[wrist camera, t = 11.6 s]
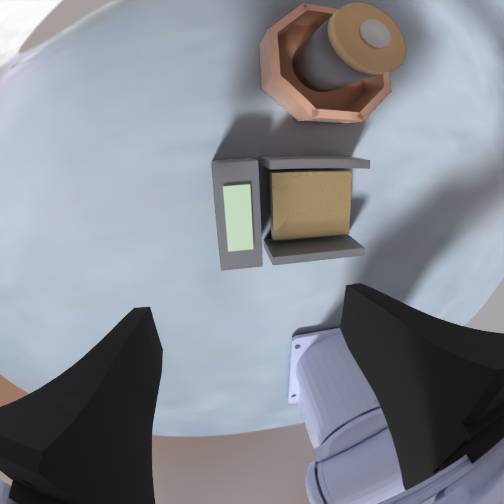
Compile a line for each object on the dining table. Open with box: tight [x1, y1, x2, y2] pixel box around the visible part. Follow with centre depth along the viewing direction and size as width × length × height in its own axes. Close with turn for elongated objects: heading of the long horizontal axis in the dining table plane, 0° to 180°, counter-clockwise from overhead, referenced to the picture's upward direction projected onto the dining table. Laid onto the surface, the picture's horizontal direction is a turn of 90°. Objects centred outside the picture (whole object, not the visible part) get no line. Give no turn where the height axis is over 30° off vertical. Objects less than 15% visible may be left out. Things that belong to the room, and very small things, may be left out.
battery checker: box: [211, 156, 370, 270], centre depth 16 cm, size 6×9×3 cm, turn 93°
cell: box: [292, 2, 406, 92], centre depth 11 cm, size 4×4×7 cm
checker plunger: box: [269, 170, 352, 241], centre depth 17 cm, size 4×5×1 cm
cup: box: [259, 3, 391, 124], centre depth 13 cm, size 8×8×3 cm
